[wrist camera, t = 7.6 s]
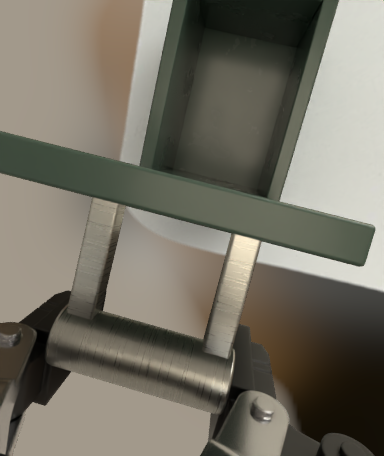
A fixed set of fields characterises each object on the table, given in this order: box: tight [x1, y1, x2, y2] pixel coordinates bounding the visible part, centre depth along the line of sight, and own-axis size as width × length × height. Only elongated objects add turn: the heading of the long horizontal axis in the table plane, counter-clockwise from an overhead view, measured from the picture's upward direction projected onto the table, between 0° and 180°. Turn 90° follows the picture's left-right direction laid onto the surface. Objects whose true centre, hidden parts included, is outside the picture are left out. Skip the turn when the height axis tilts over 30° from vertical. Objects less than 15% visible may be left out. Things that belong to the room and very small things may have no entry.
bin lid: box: [0, 131, 375, 415], centre depth 12 cm, size 12×8×5 cm
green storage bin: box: [139, 0, 339, 201], centre depth 21 cm, size 11×8×8 cm
